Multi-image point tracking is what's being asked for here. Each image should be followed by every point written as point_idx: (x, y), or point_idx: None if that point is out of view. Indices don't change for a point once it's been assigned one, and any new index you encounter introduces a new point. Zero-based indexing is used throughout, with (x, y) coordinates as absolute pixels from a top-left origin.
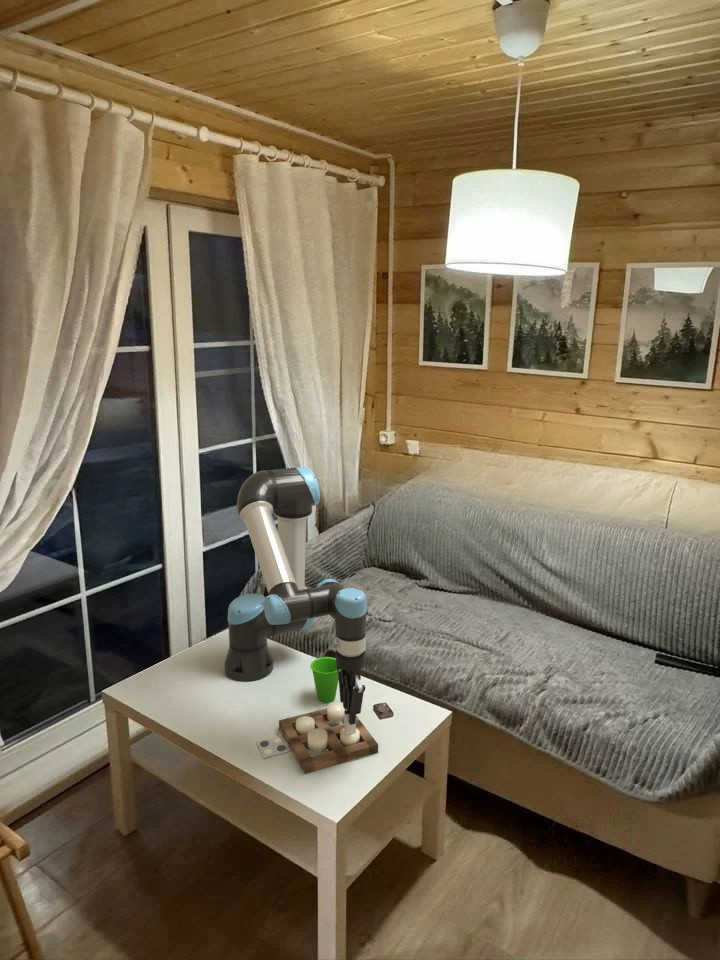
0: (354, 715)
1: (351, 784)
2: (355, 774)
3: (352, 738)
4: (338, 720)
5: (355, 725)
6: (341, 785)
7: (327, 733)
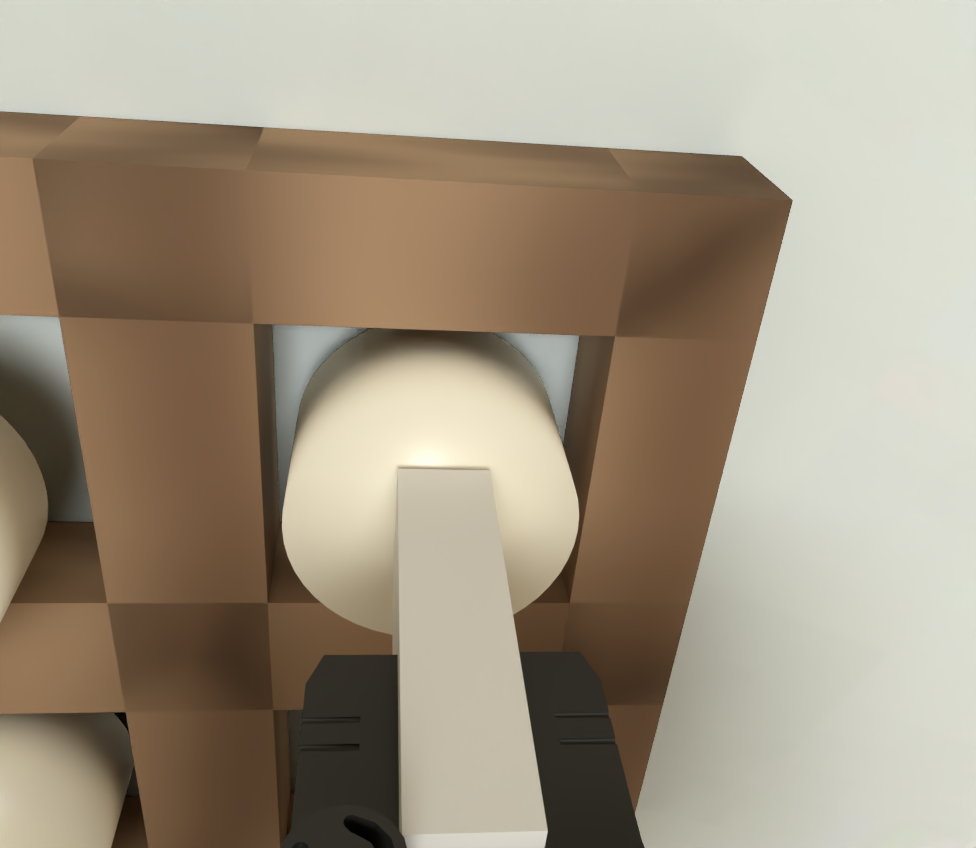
0: (628, 841)
1: (944, 608)
2: (866, 534)
3: (571, 545)
4: (39, 532)
5: (503, 564)
6: (892, 674)
7: (224, 664)
